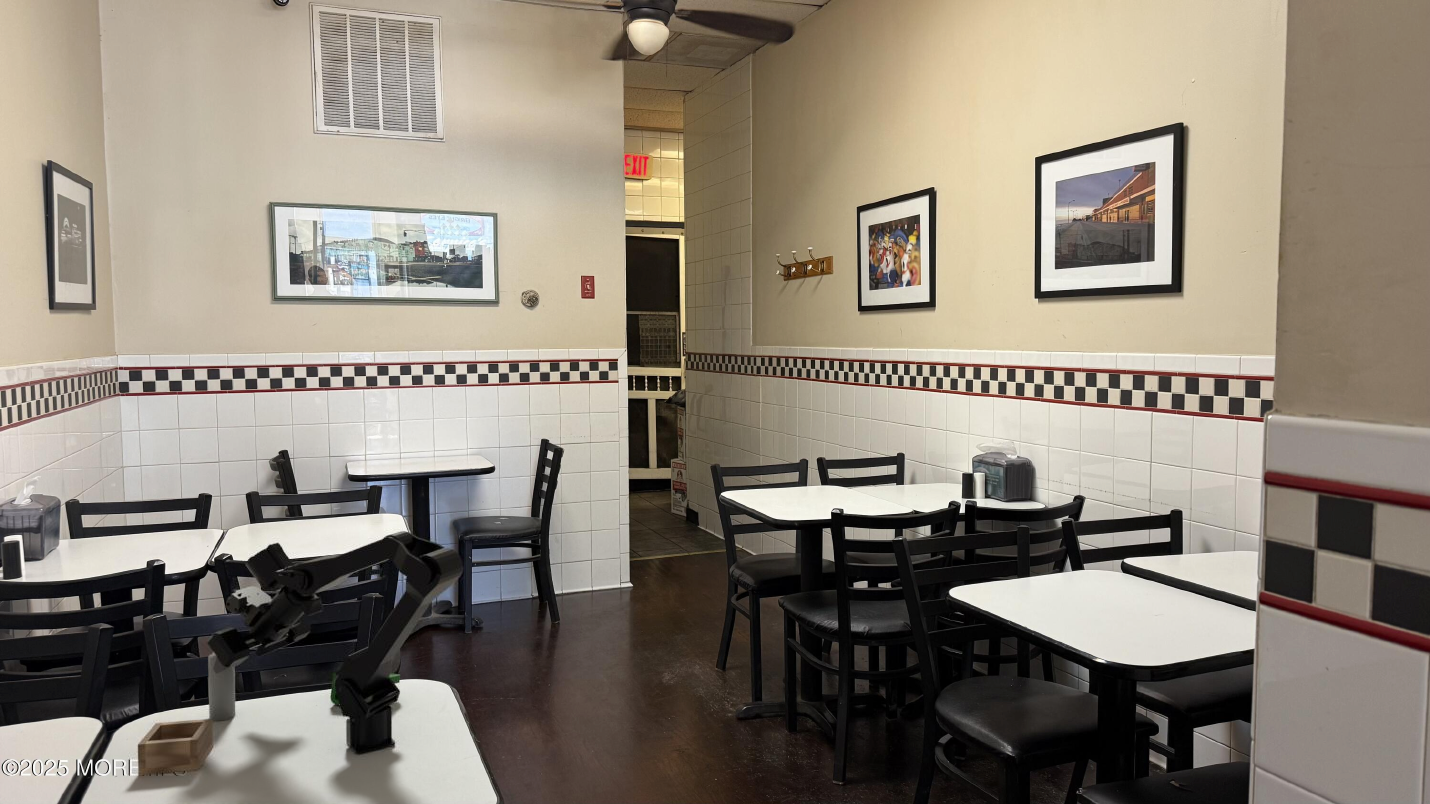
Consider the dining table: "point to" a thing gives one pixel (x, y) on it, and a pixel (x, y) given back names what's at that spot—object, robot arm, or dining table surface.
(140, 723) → the dining table surface
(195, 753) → the end holder
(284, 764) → the dining table surface
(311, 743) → the dining table surface
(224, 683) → the white rounded cylinder
